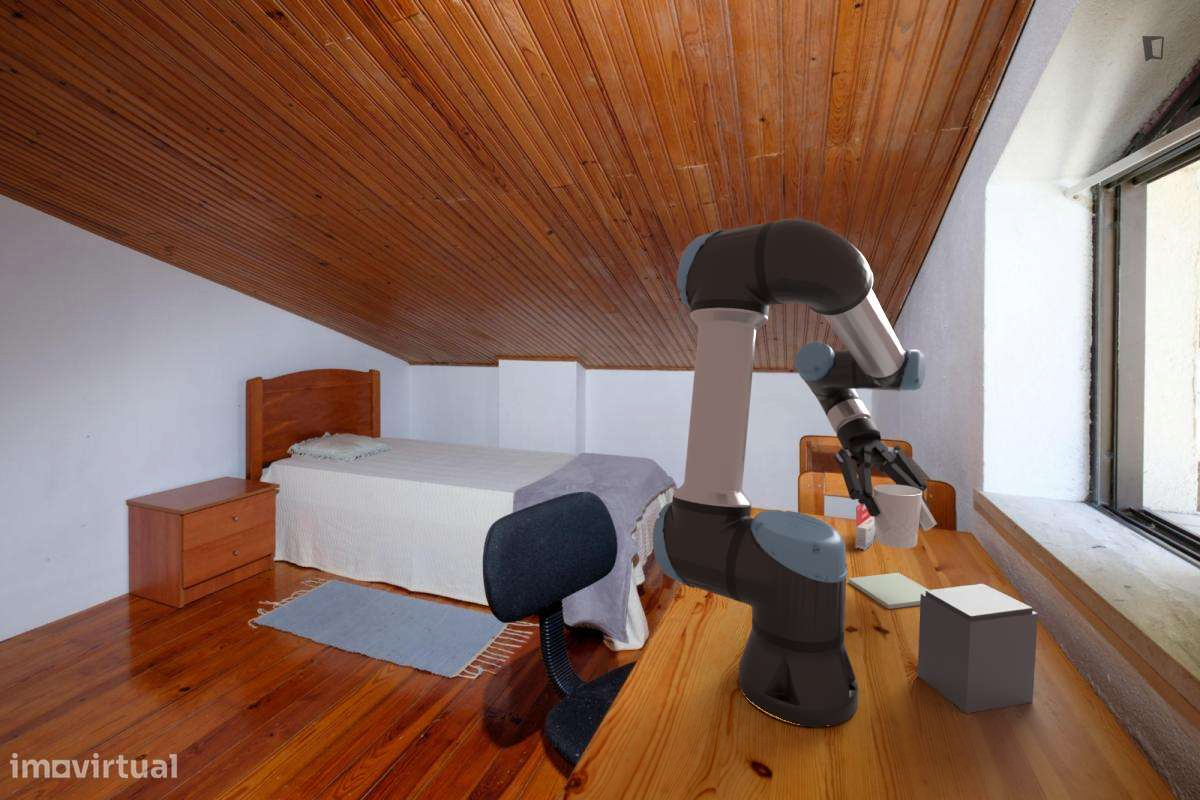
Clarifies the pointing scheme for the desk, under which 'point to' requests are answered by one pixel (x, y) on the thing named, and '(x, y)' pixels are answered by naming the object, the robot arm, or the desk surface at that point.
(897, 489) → the white cup
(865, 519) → the ink cartridge box
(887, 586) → the coaster
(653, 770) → the desk surface
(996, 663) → the block
